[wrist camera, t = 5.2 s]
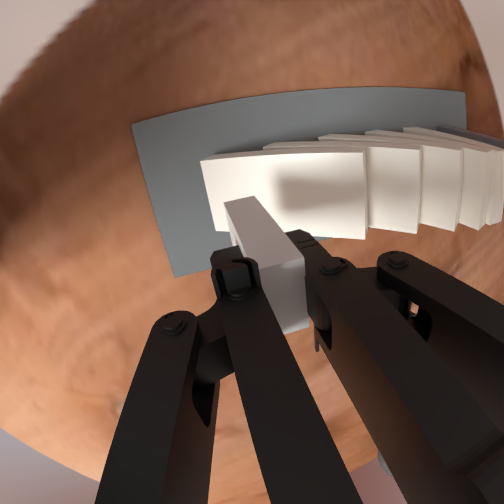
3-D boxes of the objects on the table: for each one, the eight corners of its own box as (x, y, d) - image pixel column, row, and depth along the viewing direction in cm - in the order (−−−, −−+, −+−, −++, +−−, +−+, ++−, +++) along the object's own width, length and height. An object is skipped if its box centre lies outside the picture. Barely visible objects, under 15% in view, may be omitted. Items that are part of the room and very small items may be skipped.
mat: (174, 275, 24) (174, 277, 23) (131, 124, 18) (131, 124, 18) (461, 201, 27) (463, 202, 27) (462, 91, 22) (464, 92, 21)
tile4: (368, 192, 23) (478, 230, 15) (364, 131, 21) (485, 152, 13) (380, 187, 24) (486, 223, 16) (377, 129, 22) (492, 149, 14)
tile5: (404, 183, 24) (489, 225, 15) (403, 127, 22) (497, 151, 13) (417, 180, 24) (501, 221, 16) (416, 126, 22) (508, 150, 13)
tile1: (215, 231, 21) (365, 239, 17) (199, 160, 19) (362, 152, 14) (226, 221, 22) (367, 227, 18) (212, 154, 20) (365, 147, 16)
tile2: (273, 215, 22) (416, 233, 16) (262, 146, 19) (419, 150, 14) (284, 207, 23) (419, 223, 17) (274, 142, 21) (420, 145, 15)
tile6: (437, 176, 25) (518, 214, 16) (437, 125, 22) (525, 149, 14) (447, 175, 25) (526, 210, 16) (447, 125, 23) (532, 148, 14)
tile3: (324, 202, 23) (454, 231, 16) (318, 137, 20) (459, 150, 13) (335, 196, 23) (458, 222, 16) (330, 133, 21) (463, 146, 14)
